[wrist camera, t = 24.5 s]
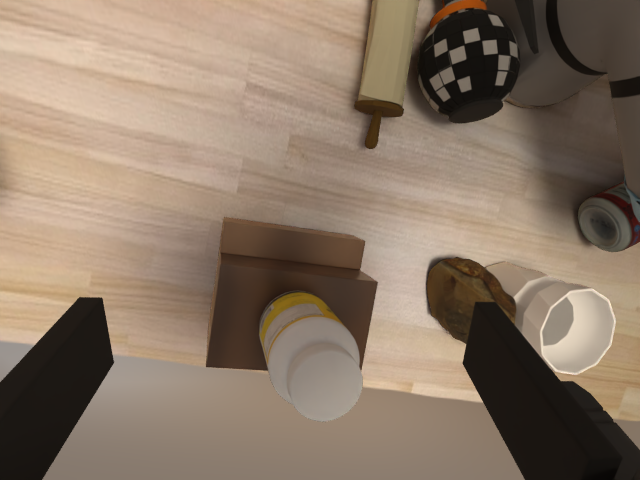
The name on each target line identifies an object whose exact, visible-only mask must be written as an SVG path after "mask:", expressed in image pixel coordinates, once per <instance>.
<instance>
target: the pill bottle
mask: <svg viewBox="0 0 640 480" xmlns="http://www.w3.org/2000/svg"><path fill="white" fill-rule="evenodd" d="M259 336H260V341H261V344H262V347H263V351H264V355H265V359H266V363H267V367H268V371H269V376H270V379H271V382H272V384H273V386H274V388H275V390H276V391H277V393H278V394H279V395H280V396H281V397H282V398H284V399H285V400H286V401H287V402H289V403H290V404H293V405H294V407H295V408H296V410H297V411H298V412H299V413H300V414H302V415H303V416H304V417H306V418H308V419H311V420H314V421H323V422H324V421H331V420H335V419H337V418H339V417H341V416H343V415H344V414H346V413H347V412H348V411H350V410H351V409H352V408H353V406H354V405H355V404H356V403H357V400H358V399H359V397H360V394H361V391H362V386H363V378H362V373H361V370H360V367H359V362H360V357H359V350H358V346H357V344H356V341H355V339H354V338H353V336H352V335H351V333H350V332H349V330H348V329H347V328H346V327H345V326H344V325H343V323H342V322H341V321H340V320H339V319H338V318H337V316H336V315H335V314H334V313H333V312H332V311H331V309H330V308H329V307H328V306H327V305H326V304H325V302H324V301H323V300H321V299H320V298H319V297H317V296H316V295H314V294H312V293H309V292H305V291H291V292H287V293H284V294H282V295H280V296H278V297H276V298H275V299H274V300H272V301H271V302H270V303H269V304H268V306H267V307H266V308H265V310H264V312H263V314H262V316H261V319H260V323H259Z"/></svg>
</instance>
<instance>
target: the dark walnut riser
mask: <svg viewBox="0 0 640 480" xmlns="http://www.w3.org/2000/svg"><path fill="white" fill-rule="evenodd" d="M364 246H365V241H364V240H362V239H360V238H357V237H355V236H353V235H346V234H339V233H332V232H325V231H318V230H311V229H304V228H297V227H290V226H283V225H276V224H269V223H262V222H255V221H248V220H241V219H234V218H227V217H224V219H223V226H222V233H221V240H220V247H219V254H218V262H217V269H216V276H215V283H214V290H213V297H212V304H211V311H210V318H209V325H208V337H207V356H206V367H215V368H233V369H251V370H268V367H267V363H266V359H265V355H264V351H263V347H262V344H261V341H260V336H259V323H260V319H261V316H262V314H263V312H264V310H265V308H266V307H267V306H268V304H269V303H270V302H271V301H272V300H274V299H275V298H276V297H278V296H280V295H282V294H284V293H287V292H291V291H305V292H309V293H312V294H314V295H316V296H317V297H319V298H320V299H321V300H323V301H324V302H325V304H326V305H327V306H328V307H329V308H330V309H331V311H332V312H333V313H334V314H335V315H336V316H337V318H338V319H339V320H340V321H341V322H342V323H343V325H344V326H345V327H346V328H347V329H348V330H349V332H350V333H351V335H352V336H353V338H354V339H355V341H356V344H357V346H358V350H359V357H360V362H359V367H360V370H362V364H363V359H364V353H365V348H366V343H367V337H368V332H369V326H370V321H371V316H372V310H373V305H374V299H375V294H376V289H377V283H378V282H377V281H375V280H374V279H372V278H371V277H369V276H368V275H366V274H365V273H363V272H362V271H360V268H361V262H362V257H363V251H364Z"/></svg>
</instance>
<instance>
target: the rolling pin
mask: <svg viewBox="0 0 640 480" xmlns="http://www.w3.org/2000/svg"><path fill="white" fill-rule="evenodd" d="M418 4H419V0H373V2H372V9H371V17H370V25H369V32H368V40H367V46H366V53H365V59H364V65H363V72H362V78H361V84H360V91H359V97H358V101H355V106H354V109H356V110H358V111H360V112H364V113H367V114H371V115H373V116H372V120H371V124H370V127H369V130H368V133H367V136H366V140H365V146H366V148H368V149H373V148H375V147H376V145H377V142H378V137H379V129H380V123H381V117H382V116H383V117H399V116H402V115H403V111H404V109H403V108H402V105H403V99H404V93H405V87H406V82H407V76H408V70H409V64H410V58H411V52H412V46H413V39H414V32H415V25H416V18H417V11H418Z"/></svg>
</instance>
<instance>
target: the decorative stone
mask: <svg viewBox="0 0 640 480" xmlns="http://www.w3.org/2000/svg"><path fill="white" fill-rule="evenodd" d="M427 294H428V299H429V305H430V307H431V315H432V316H433V317H434V318H436V319H438V320H439V322H440V324H441V325H442V326H443V327H444V328H445V329H447V330H448V331H449V332H450V334H451V335H452V337H454V338H455V339H457V340H460V341H462V342H464V343H465V344H467V340H468V335H469V330H470V325H471V320H472V315H473V310H474V305H475V302H496V303H497V304H498V305H499V306H500V308H501V309H502V310H503V311H504V312H505V314H506V315H507V316H508V317H509V319H510V320H511V321H512V322H513V323H514V325H515V318H516V302H515V299H514V298H513V297H512V296H511V295H509V294H507V293H506V292H505V291H504V290H503V288H502V286H501V284H500V282H499V281H498V279H497V278H496V277H495V276H494V275H493V274H492V273H491V272H489V271H488V270H487V269H486V268H484V267H483V266H481V265H480V264H479V263H477V262H475V261H472V260H470V259H462V258H458V257H456V258H453V259H444V260H442V261H440V262H438V263H437V264H436V265H435V266H434V267H433V268H432V269H431V270H430V272H429V276H428V281H427Z"/></svg>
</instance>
